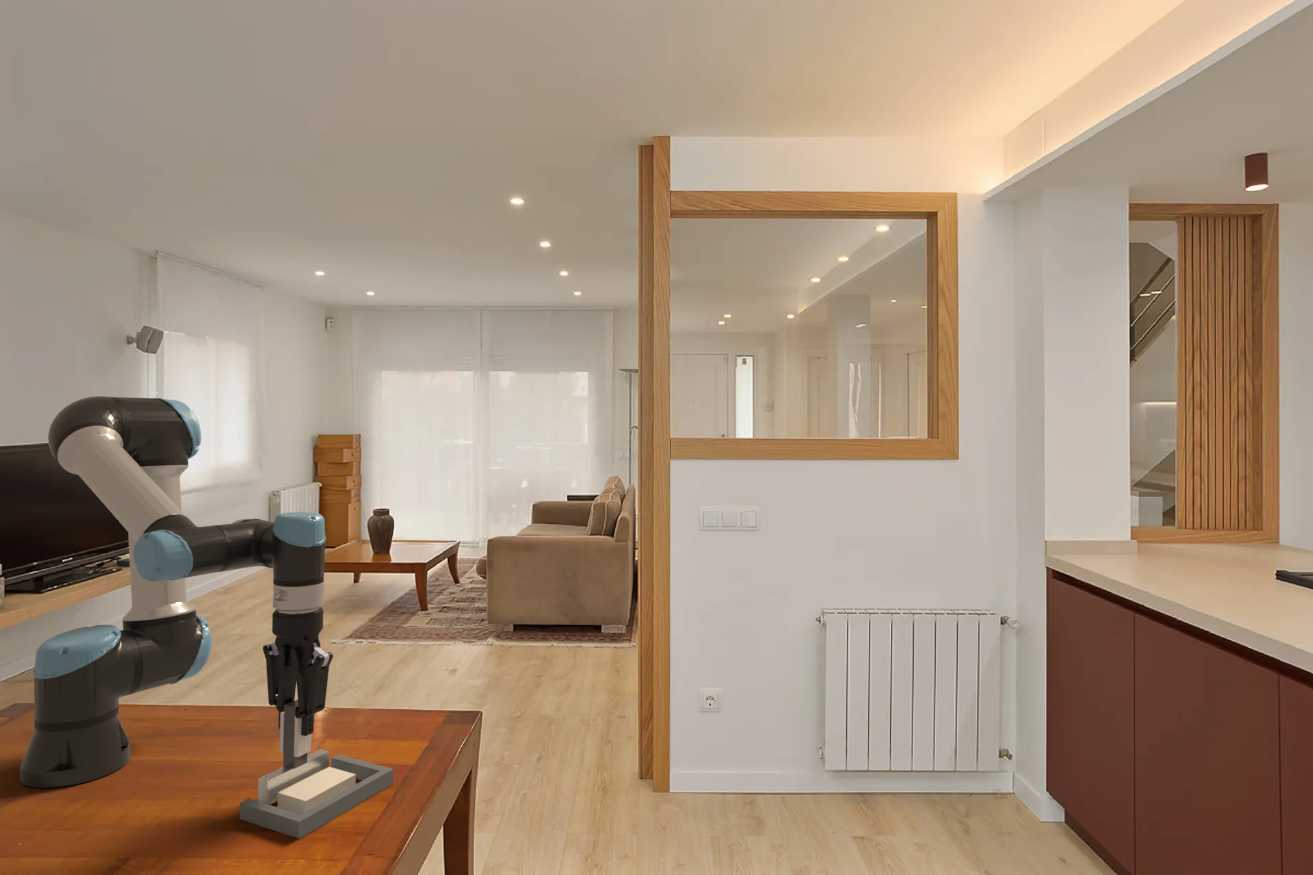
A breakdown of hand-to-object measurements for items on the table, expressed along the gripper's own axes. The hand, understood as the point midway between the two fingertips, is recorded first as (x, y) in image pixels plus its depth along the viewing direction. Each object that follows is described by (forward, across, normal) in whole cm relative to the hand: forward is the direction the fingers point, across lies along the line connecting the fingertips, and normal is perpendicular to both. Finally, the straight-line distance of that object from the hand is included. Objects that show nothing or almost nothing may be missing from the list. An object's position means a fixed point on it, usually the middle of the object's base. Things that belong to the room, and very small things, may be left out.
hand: (295, 751), depth 124 cm
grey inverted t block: (+6, 0, 0) cm, 6 cm away
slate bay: (+7, +6, 0) cm, 9 cm away
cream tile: (+7, +5, 0) cm, 9 cm away
